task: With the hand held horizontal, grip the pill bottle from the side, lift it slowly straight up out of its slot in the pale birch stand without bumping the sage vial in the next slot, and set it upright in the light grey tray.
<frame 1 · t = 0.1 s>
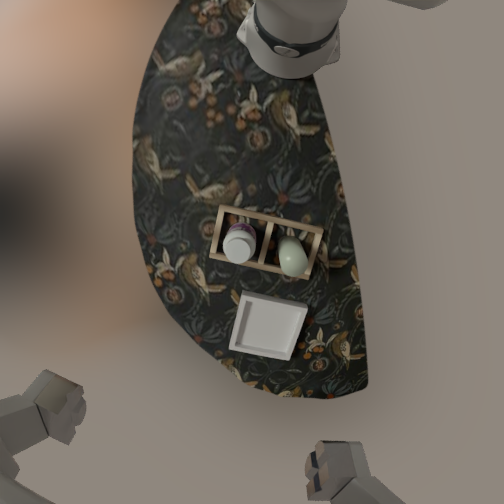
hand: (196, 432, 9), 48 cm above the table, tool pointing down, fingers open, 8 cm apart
grey tray: (266, 324, 62), on the table
sage vial: (289, 247, 56), resting in stand
stand: (265, 241, 56), on the table
pill bottle: (241, 235, 56), resting in stand
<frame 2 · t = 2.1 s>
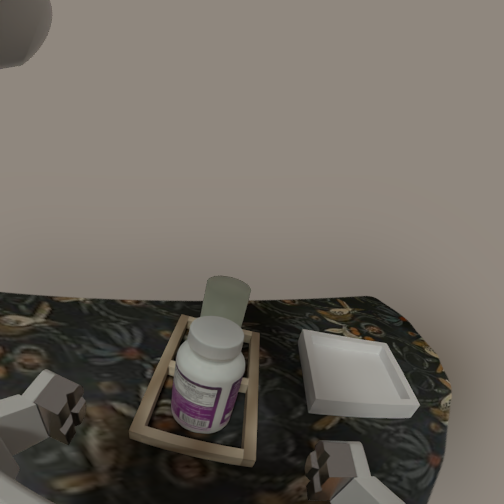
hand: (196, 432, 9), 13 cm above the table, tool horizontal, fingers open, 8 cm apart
grey tray: (351, 379, 33), on the table
sage vial: (213, 355, 33), resting in stand
stand: (207, 381, 29), on the table
pill bottle: (199, 414, 24), resting in stand
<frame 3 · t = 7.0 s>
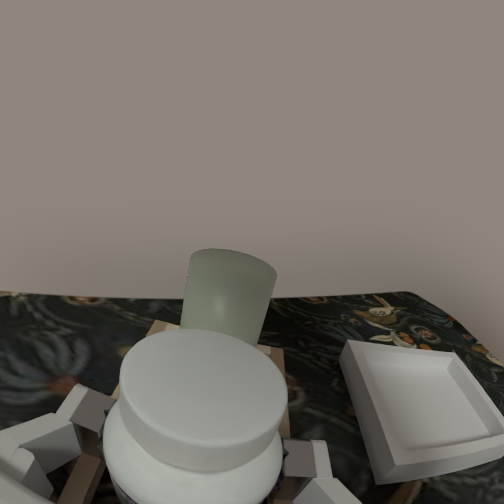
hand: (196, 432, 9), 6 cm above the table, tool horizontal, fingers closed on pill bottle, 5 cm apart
grey tray: (423, 413, 19), on the table
sage vial: (206, 391, 18), resting in stand
stand: (194, 443, 14), on the table
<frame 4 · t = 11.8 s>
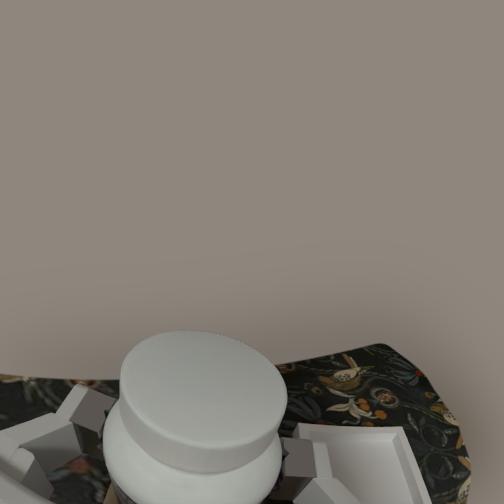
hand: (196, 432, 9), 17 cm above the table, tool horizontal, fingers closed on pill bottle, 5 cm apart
grey tray: (356, 483, 22), on the table
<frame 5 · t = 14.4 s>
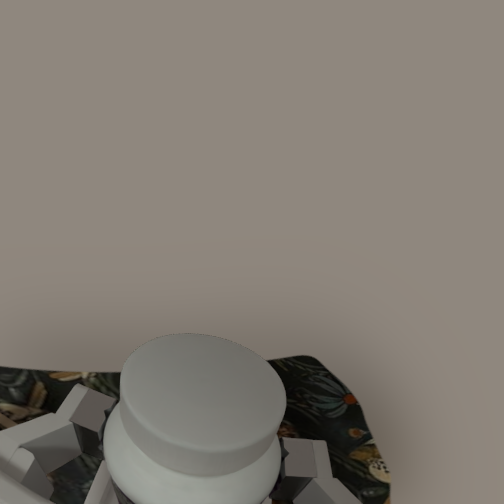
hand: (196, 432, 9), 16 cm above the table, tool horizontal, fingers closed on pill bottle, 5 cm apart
when the fingers open (8 cm above the table, at t = 16.9 s): pill bottle stays where it is, resting on grey tray.
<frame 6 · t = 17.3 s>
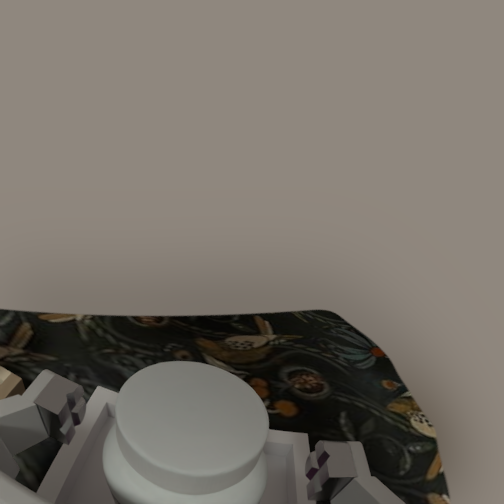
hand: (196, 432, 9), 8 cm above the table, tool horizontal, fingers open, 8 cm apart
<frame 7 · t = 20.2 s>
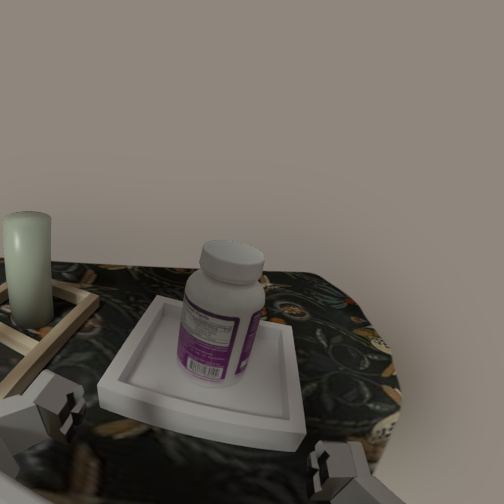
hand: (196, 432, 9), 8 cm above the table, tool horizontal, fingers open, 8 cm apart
grey tray: (209, 374, 22), on the table
sage vial: (32, 314, 22), resting in stand
stand: (4, 339, 17), on the table
pill bottle: (209, 368, 22), point 1 cm above the table, touching grey tray
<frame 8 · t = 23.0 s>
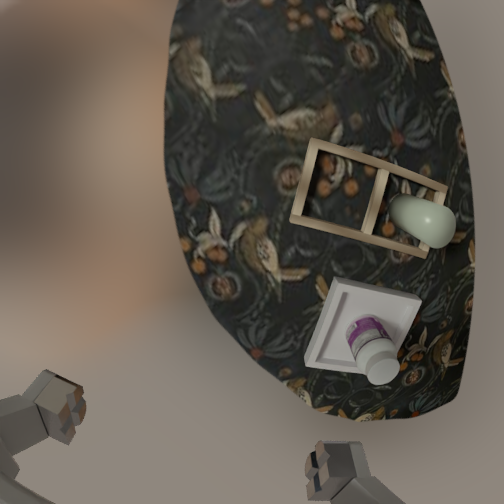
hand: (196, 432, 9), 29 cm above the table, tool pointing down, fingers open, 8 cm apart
grey tray: (361, 327, 40), on the table
sage vial: (403, 210, 35), resting in stand
stand: (373, 200, 35), on the table
pill bottle: (362, 328, 39), point 1 cm above the table, touching grey tray
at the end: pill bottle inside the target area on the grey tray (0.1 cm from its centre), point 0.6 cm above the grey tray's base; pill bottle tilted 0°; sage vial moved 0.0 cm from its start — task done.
